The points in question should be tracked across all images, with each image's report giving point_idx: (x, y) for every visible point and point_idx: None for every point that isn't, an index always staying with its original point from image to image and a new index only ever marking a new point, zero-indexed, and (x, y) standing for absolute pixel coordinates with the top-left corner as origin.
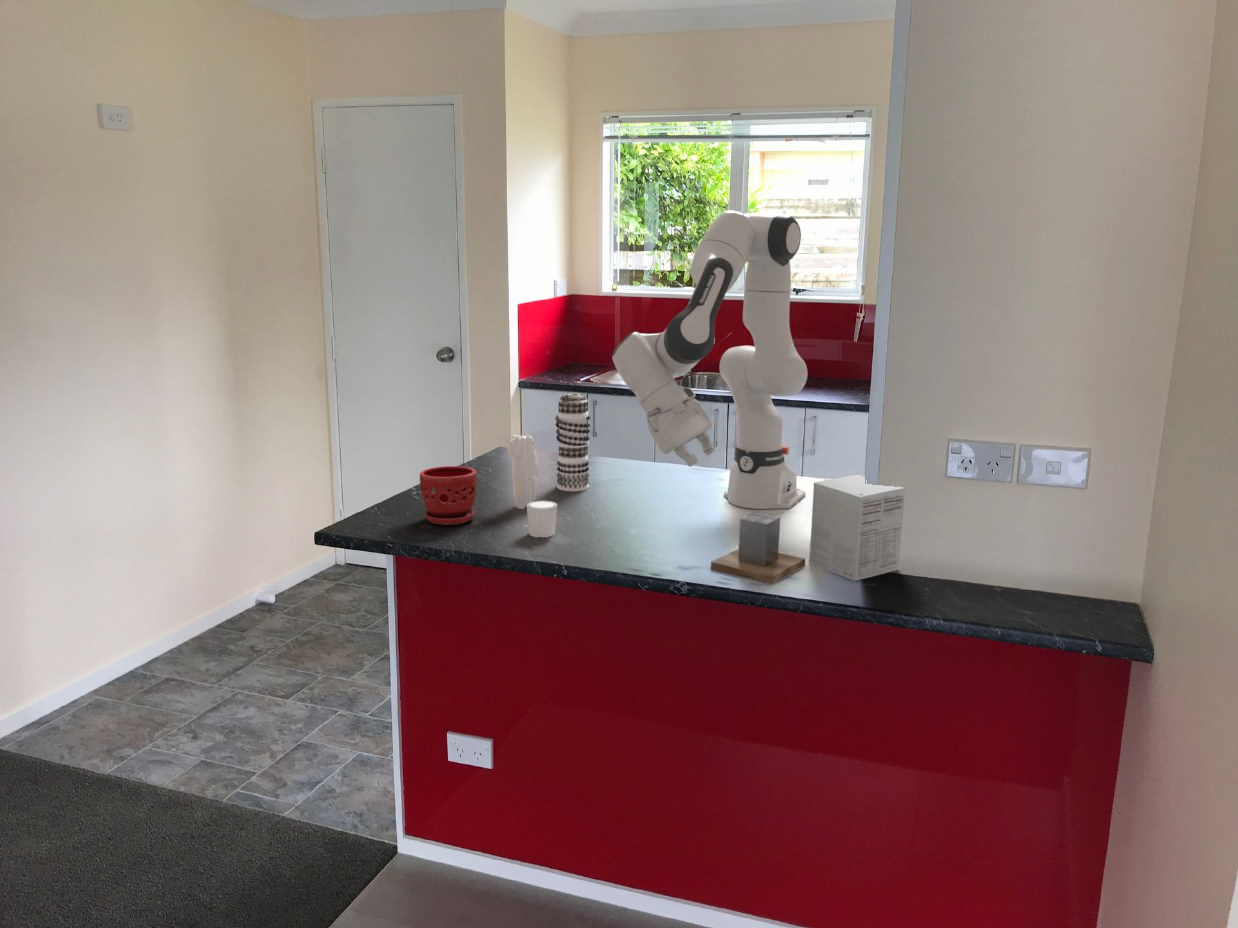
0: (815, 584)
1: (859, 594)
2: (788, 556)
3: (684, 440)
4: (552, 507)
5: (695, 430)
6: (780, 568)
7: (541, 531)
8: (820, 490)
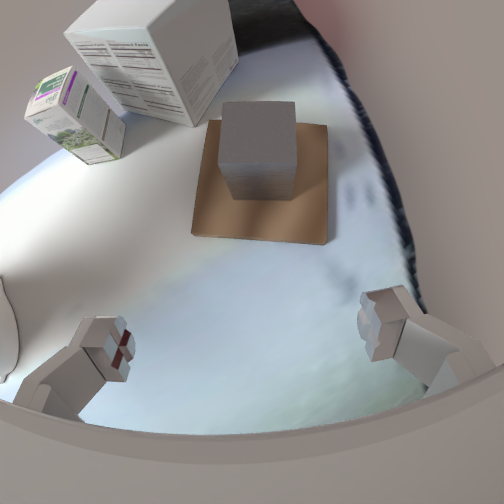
0: (281, 88)
1: (279, 47)
2: (213, 143)
3: (494, 379)
4: None
5: (166, 478)
6: None
7: None
8: (165, 22)
